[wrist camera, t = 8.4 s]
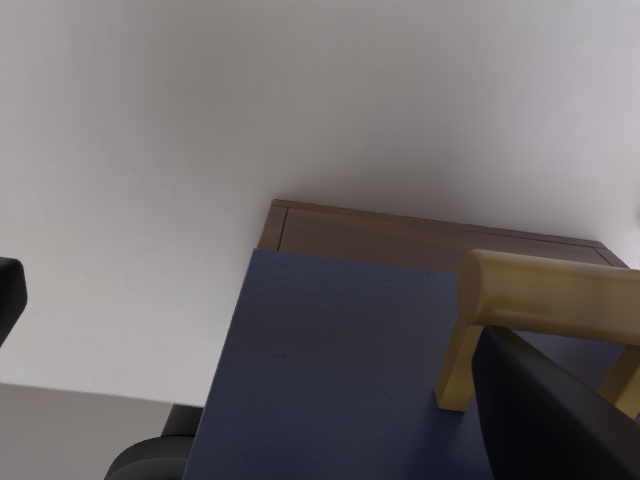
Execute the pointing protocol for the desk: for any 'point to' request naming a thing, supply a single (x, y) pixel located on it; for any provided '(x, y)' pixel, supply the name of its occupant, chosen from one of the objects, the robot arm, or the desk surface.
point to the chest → (408, 239)
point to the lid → (397, 362)
